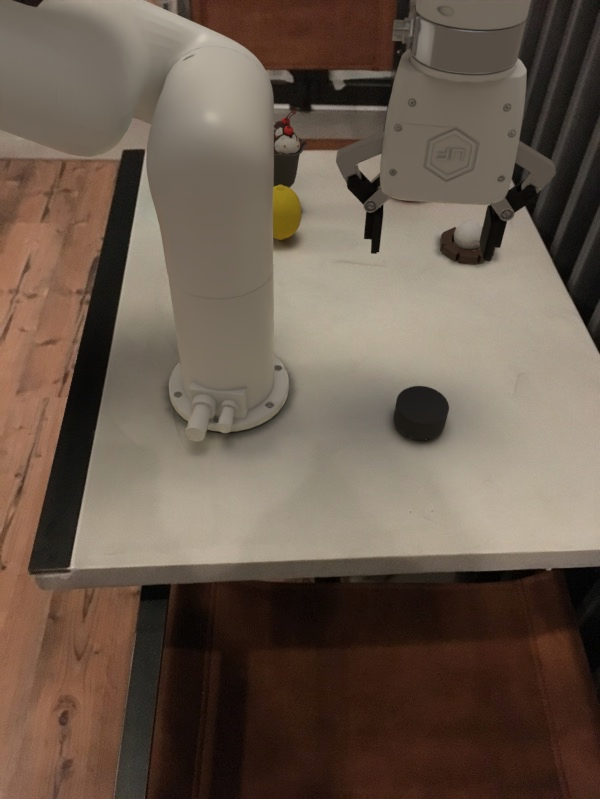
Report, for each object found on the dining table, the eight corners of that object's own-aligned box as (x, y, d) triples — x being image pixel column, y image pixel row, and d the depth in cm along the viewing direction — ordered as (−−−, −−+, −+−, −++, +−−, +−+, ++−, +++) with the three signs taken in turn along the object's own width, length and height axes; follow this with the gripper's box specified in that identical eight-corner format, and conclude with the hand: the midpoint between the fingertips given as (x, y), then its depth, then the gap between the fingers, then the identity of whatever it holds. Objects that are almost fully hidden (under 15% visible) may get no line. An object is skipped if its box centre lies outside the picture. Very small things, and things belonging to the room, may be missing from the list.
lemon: (296, 253, 90) (297, 199, 85) (255, 248, 91) (254, 193, 85) (304, 231, 94) (306, 177, 88) (265, 226, 95) (264, 172, 89)
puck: (444, 446, 68) (449, 426, 66) (391, 440, 68) (395, 420, 66) (443, 408, 71) (448, 388, 69) (393, 403, 72) (397, 383, 70)
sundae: (304, 225, 95) (307, 118, 84) (255, 223, 95) (253, 116, 84) (304, 200, 100) (308, 96, 89) (258, 199, 100) (256, 94, 89)
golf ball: (460, 236, 94) (466, 211, 91) (486, 247, 92) (493, 221, 89) (445, 249, 92) (451, 223, 89) (471, 260, 90) (478, 234, 87)
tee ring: (494, 266, 89) (496, 258, 89) (440, 261, 90) (441, 253, 89) (490, 236, 94) (492, 229, 93) (439, 232, 95) (441, 224, 94)
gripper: (339, 55, 46) (328, 267, 58) (602, 67, 45) (534, 280, 57) (345, 17, 51) (334, 219, 63) (581, 28, 50) (523, 231, 62)
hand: (429, 248), depth 60 cm, fingers open, 9 cm apart
